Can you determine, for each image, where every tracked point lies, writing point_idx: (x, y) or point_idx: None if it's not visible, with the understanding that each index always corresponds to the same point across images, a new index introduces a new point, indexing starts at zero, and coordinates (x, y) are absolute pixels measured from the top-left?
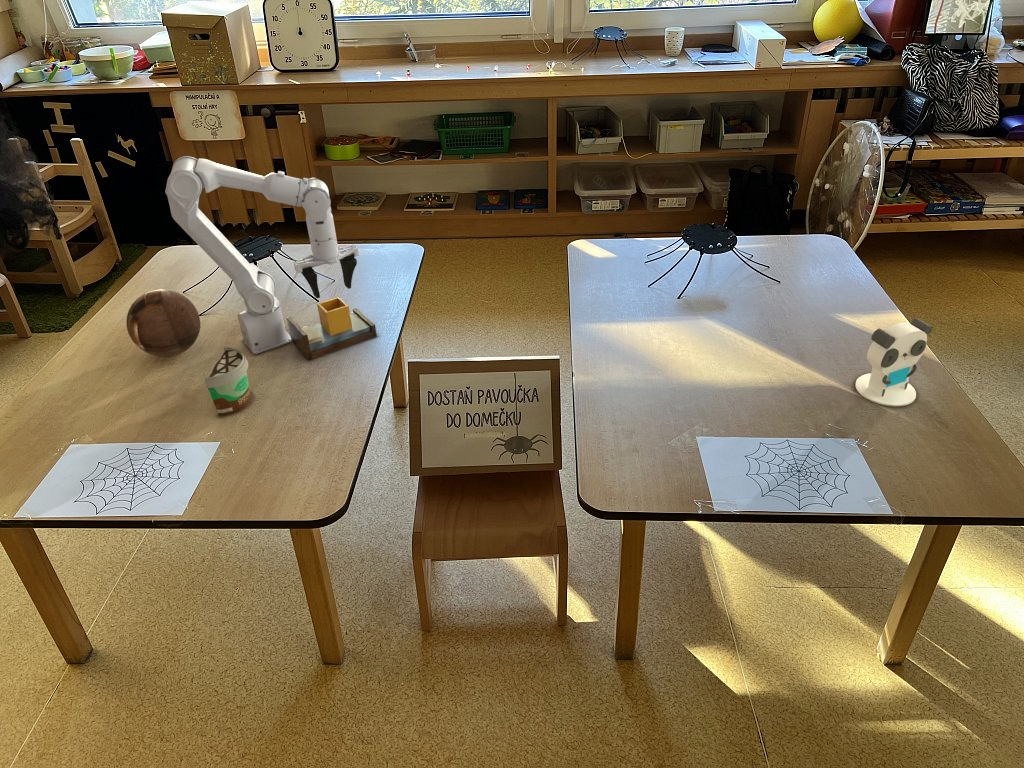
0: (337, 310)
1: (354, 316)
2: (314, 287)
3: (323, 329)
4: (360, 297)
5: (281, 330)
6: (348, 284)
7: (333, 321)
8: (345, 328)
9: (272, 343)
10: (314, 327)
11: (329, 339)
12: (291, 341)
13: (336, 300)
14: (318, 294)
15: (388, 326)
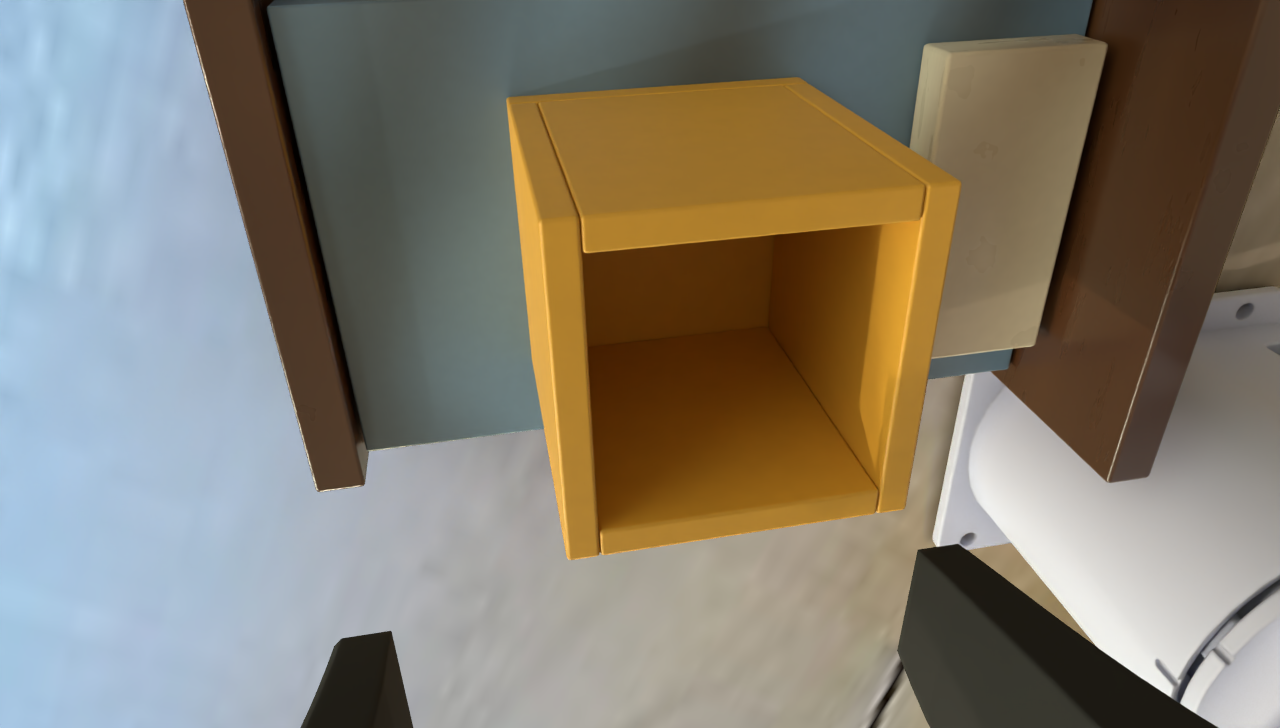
0: (757, 194)
1: (388, 355)
2: (1152, 699)
3: None
4: (210, 720)
5: None
6: (376, 698)
7: (797, 132)
8: (604, 99)
9: None
10: None
11: (850, 2)
12: None
13: (617, 507)
14: (981, 584)
15: (14, 111)
